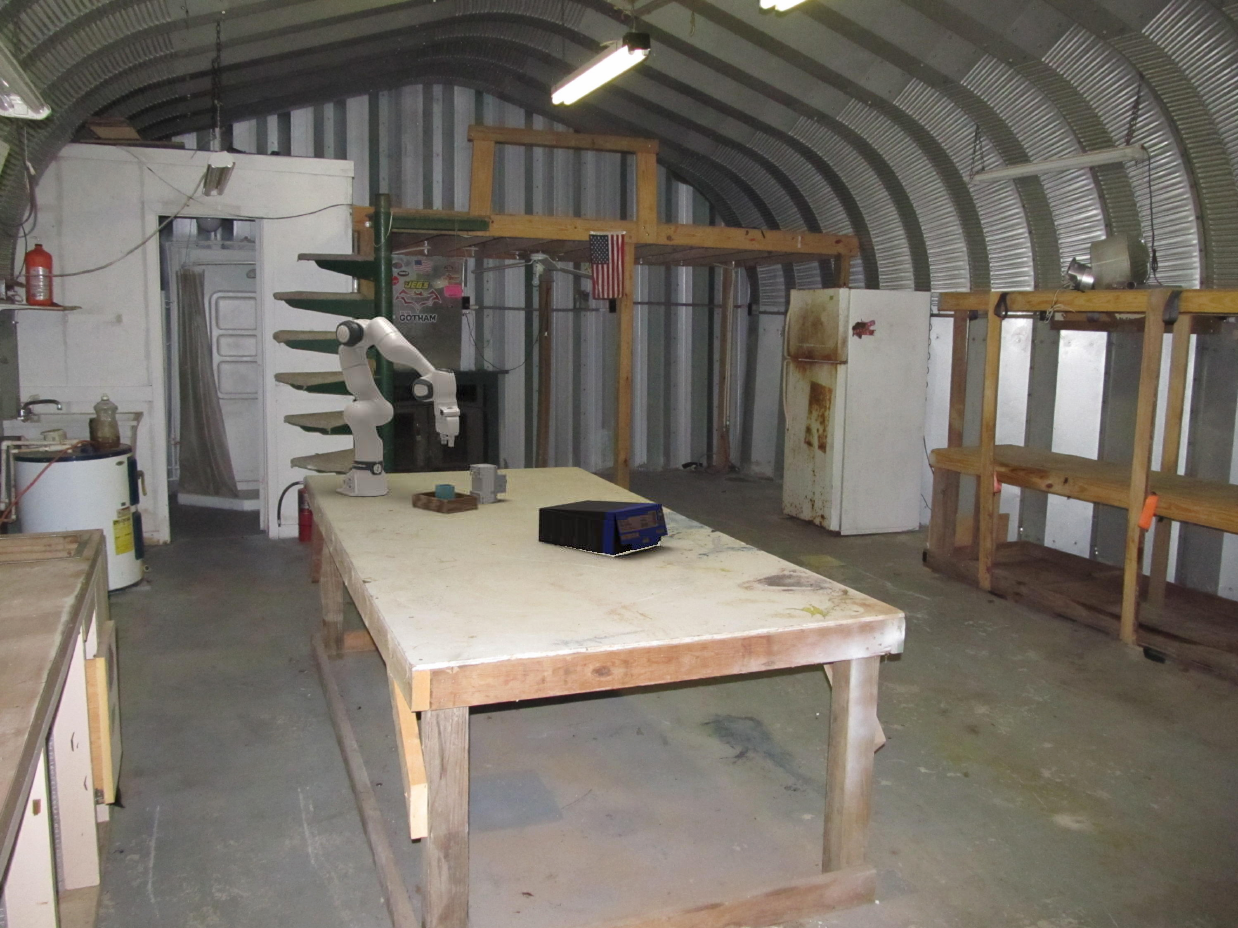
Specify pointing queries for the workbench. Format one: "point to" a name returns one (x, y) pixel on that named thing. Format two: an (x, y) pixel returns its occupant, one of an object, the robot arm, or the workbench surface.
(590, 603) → the workbench surface
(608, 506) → the black and blue box
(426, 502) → the walnut crate
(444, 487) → the teal crate
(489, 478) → the circuit breaker
